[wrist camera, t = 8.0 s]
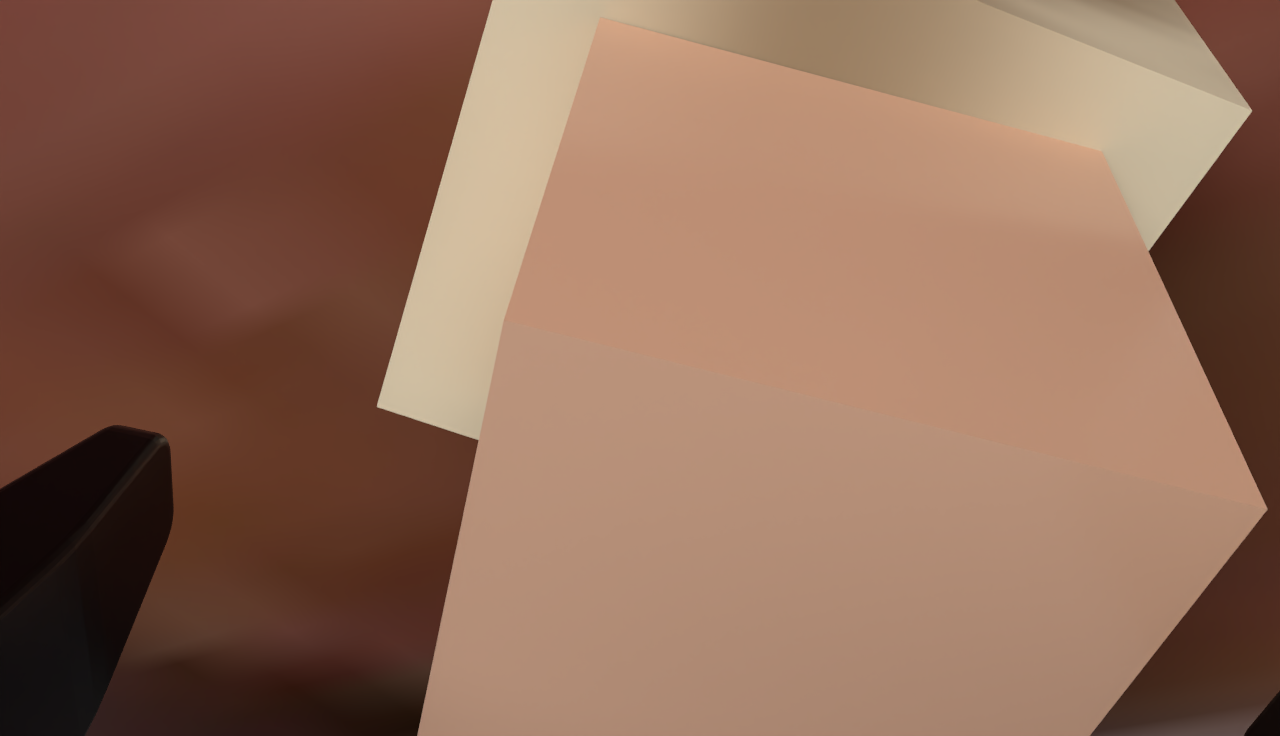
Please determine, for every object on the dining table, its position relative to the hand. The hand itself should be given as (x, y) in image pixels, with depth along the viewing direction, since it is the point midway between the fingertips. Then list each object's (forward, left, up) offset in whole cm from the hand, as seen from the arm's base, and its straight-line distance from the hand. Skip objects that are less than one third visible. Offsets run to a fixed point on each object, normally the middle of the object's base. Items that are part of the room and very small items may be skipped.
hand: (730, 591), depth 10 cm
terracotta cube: (0, 0, -4) cm, 4 cm away
